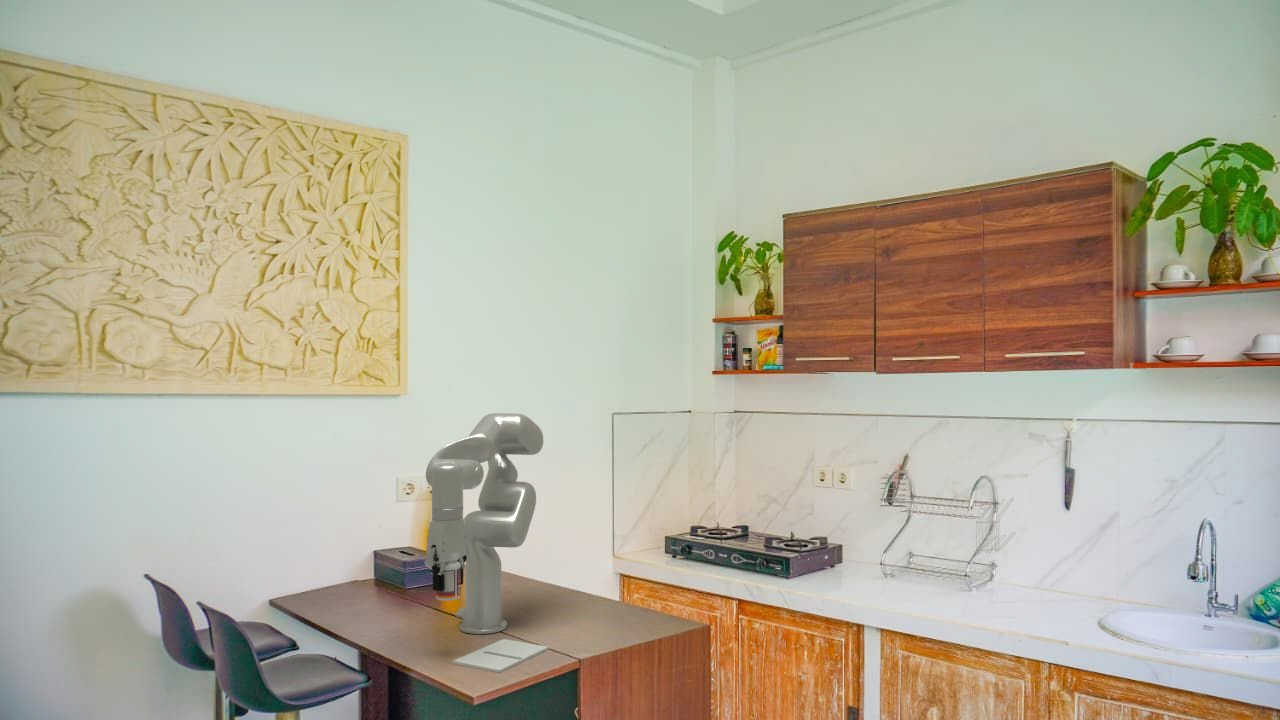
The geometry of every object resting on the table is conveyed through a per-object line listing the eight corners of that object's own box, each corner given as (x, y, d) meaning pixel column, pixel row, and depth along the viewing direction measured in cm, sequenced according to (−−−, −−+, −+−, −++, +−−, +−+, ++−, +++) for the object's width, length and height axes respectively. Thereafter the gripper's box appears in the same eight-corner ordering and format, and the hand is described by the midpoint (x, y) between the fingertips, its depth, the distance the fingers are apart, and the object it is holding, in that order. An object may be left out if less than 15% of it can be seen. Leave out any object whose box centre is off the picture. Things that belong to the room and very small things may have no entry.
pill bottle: (451, 593, 228) (450, 548, 227) (465, 597, 223) (465, 551, 223) (430, 598, 223) (430, 552, 223) (444, 602, 219) (444, 556, 219)
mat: (452, 663, 217) (452, 660, 217) (503, 641, 234) (503, 638, 234) (499, 672, 210) (499, 669, 210) (548, 649, 228) (548, 646, 228)
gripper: (458, 507, 232) (459, 577, 232) (411, 518, 217) (411, 593, 217) (482, 509, 229) (482, 581, 229) (435, 521, 214) (436, 597, 214)
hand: (448, 586), depth 223 cm, fingers closed on pill bottle, 6 cm apart
